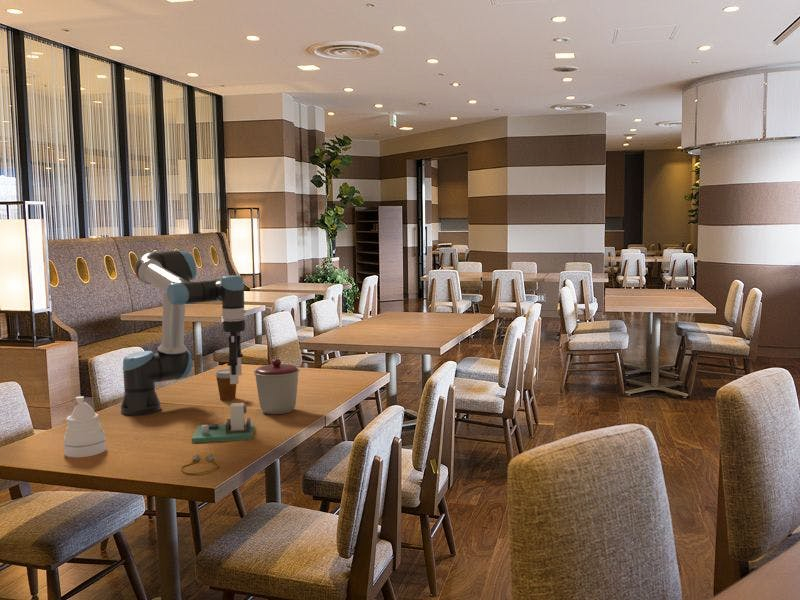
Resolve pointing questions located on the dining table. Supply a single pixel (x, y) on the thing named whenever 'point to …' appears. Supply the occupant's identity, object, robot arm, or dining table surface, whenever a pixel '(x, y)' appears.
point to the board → (222, 432)
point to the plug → (237, 416)
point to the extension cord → (196, 457)
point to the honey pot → (83, 432)
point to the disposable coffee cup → (225, 385)
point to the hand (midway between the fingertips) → (236, 379)
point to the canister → (277, 387)
